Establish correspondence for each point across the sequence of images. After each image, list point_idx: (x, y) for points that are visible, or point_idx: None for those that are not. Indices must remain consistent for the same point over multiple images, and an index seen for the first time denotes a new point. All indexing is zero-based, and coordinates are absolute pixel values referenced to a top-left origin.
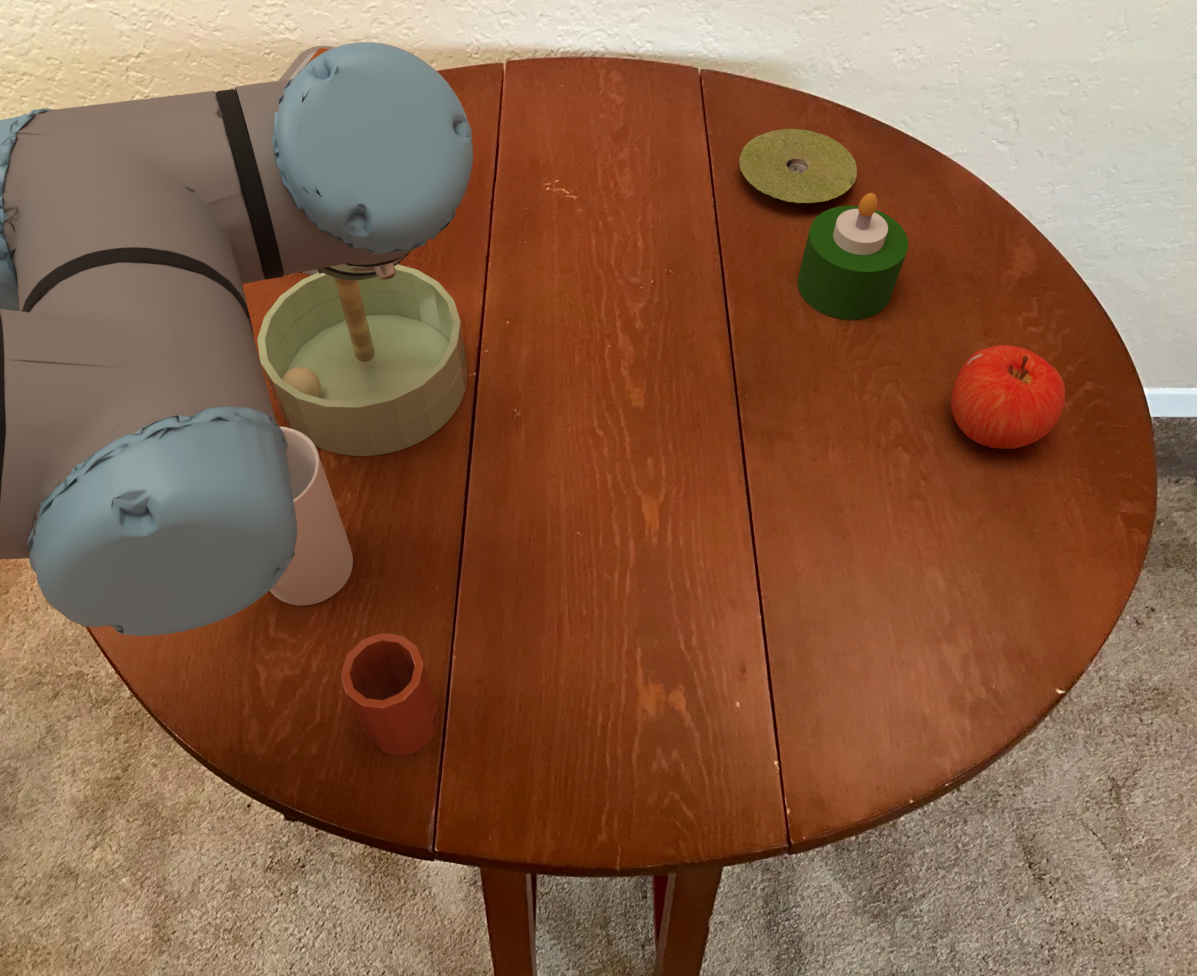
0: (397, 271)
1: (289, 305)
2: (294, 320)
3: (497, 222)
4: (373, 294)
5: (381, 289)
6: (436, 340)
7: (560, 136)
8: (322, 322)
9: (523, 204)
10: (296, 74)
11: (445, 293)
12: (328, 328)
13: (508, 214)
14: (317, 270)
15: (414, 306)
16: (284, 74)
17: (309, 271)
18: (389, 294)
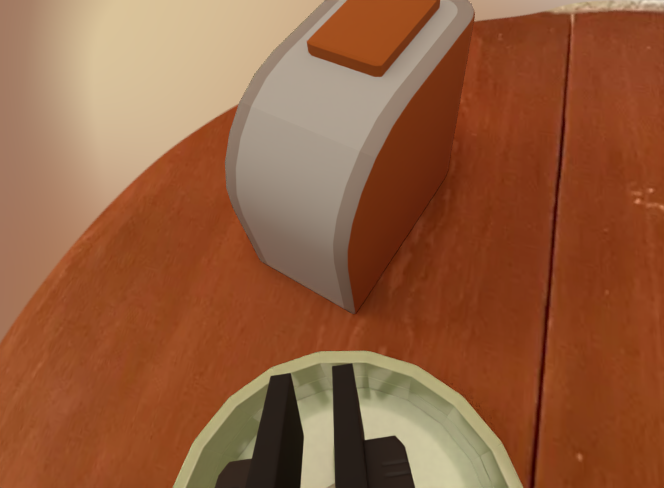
0: (427, 388)
1: (243, 408)
2: (251, 415)
3: (562, 246)
4: (377, 381)
5: (392, 383)
6: (461, 476)
7: (651, 119)
8: (297, 396)
9: (601, 221)
10: (327, 17)
11: (514, 480)
12: (305, 399)
13: (579, 235)
14: (310, 286)
15: (437, 414)
16: (310, 16)
17: (301, 282)
18: (402, 388)
